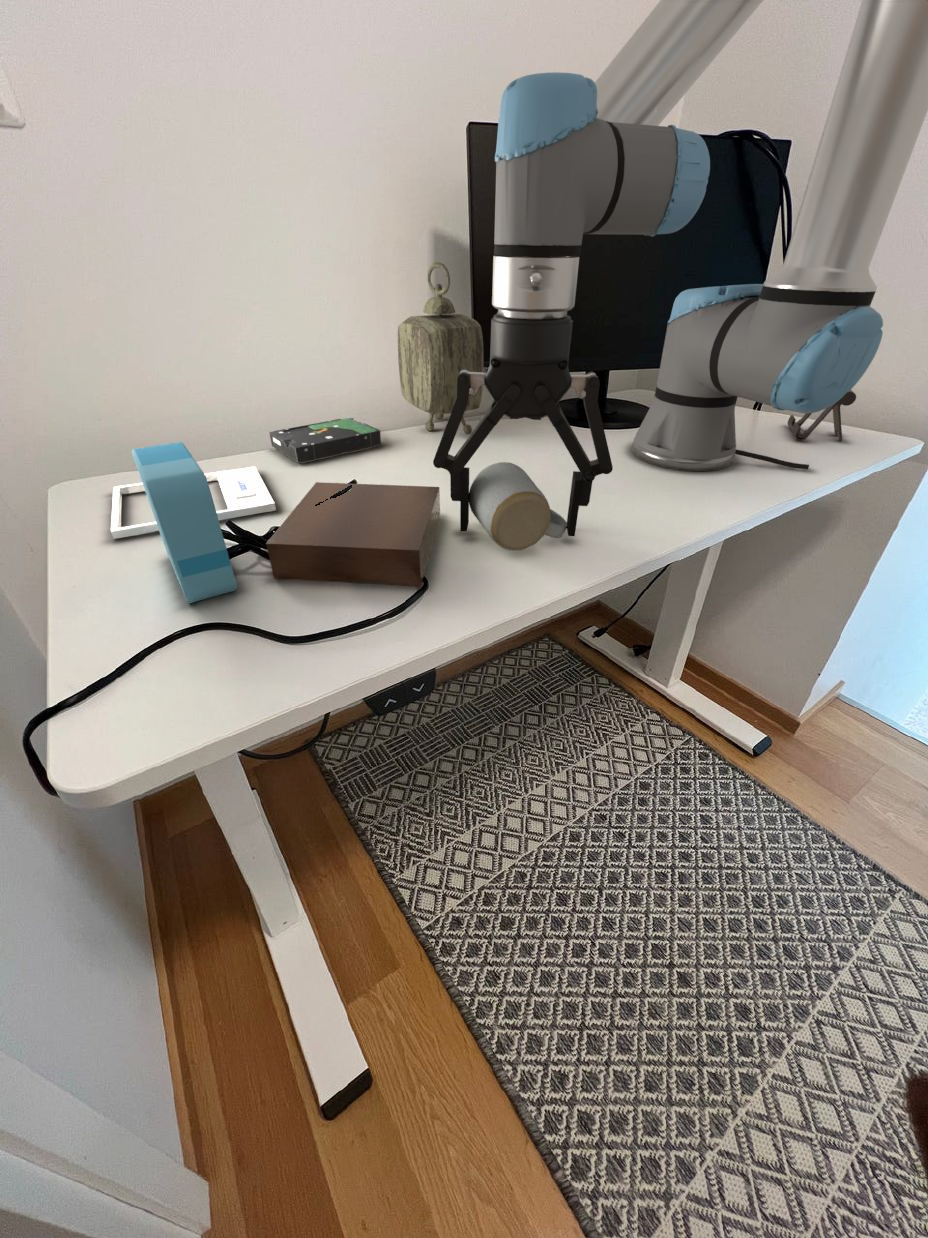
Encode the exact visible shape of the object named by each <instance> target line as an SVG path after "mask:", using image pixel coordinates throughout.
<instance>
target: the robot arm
mask: <svg viewBox="0 0 928 1238" xmlns="http://www.w3.org/2000/svg"><path fill="white" fill-rule="evenodd" d="M763 2H764V0H660V1H659V2H658V3H657V4H656V5H655V7H654V8H653V9H652V10H651V11H650V13H649V14H648V15H647V16H646V18H645V19H644V20H643V22H641V24H640V25H639V27H638V28H637V29H636V30H635V32H634V33H633V34H632V35H631V37H630V38H629V39H628V40H627V41H626V43H625V44H624V46H622V47H621V49H620V50H619V51H618V53H616V55H615V57H614V58H613V59H612V60H611V62H609V64H608V66H607V67H606V68H605V69H604V70H603V71H602V72H601V74H600V75H599V76H598V78H597V79H596V80H595V81H594V80H593V79H592V78H589V77H587V76H584V75H582V74H579V73H572V72H560V71H559V72H557V71H556V72H538V73H533V74H526V75H522V76H520V77H518V78H516V79H514V80H512V81H511V82H510V83H509V84H507V86H506V87H505V89H504V90H503V92H502V95H501V98H500V104H499V105H500V106H499V117H498V123H497V135H496V147H495V153H494V154H495V155H494V162H495V200H494V201H495V202H494V238H493V241H494V242H493V244H494V248H493V259H492V293H491V295H492V296H491V305H492V307H493V308H494V309H496V310H497V312H496V313H495V314H494V315H493V317H492V318H491V321H490V346H489V347H490V349H489V350H490V351H489V356H490V357H489V366H488V368H487V370H486V372H470V370H468V369H466V368H465V369H462V370H461V371H460V373H459V375H458V378H457V399H456V401H455V404H454V407H453V409H452V412H451V413H450V415H449V418H448V420H447V423H446V426H445V428H444V431H443V434H442V436H441V439H440V442H439V444H438V447H437V449H436V452H435V455H434V458H433V461H432V464H433V466H434V468H436V469H443V470H446V471H447V472H448V474H449V475H450V476H449V477H450V480H449V481H450V482H449V483H450V485H449V486H450V489H449V491H450V499H451V501H452V502H459V503H460V504H459V505H460V509H459V512H460V514H459V515H460V516H459V517H460V519H459V520H460V522H459V524H460V525H459V531H460V532H463V533H464V532H468V527H469V521H470V520H469V519H470V505H469V491H470V467H467V466H466V465H468V463H469V461H470V460H471V459H472V458H473V456H474V455H475V453H476V452H477V450H478V449H479V448H480V447H481V445H482V444H483V442H484V441H485V440H486V439H487V438H488V436H489V434H490V433H491V432H492V430H493V429H494V428H495V426H497V425H498V424H499V422H500V421H501V419H502V418H503V417H504V416H506V417H507V418H509V420H520V419H524V418H527V419H529V420H534V421H541V420H542V419H543V418H545V417H547V418H548V419H549V421H550V423H551V425H552V427H554V429H555V431H556V432H557V434H558V436H559V438H560V440H561V442H562V443H563V445H564V446H565V448H566V450H567V452H568V454H569V455H570V457H571V458H572V460H573V462H574V464H575V465H576V467H577V469H578V470H577V471H572V478H571V486H570V493H569V494H570V495H569V501H568V509H567V518H566V522H567V525H568V526H567V529H566V531H567V536H568V537H576V530H577V523H578V516H579V509H580V507H588V506H589V503H590V500H591V495H592V494H591V493H592V487H593V481H594V480H595V478H596V477H597V476H599V475H603V474H604V475H609V474H610V473H612V472H613V461H612V459H611V454H610V450H609V445H608V440H607V437H606V431H605V427H604V423H603V420H602V415H601V411H600V406H599V403H598V401H599V394H600V393H599V392H600V386H601V385H600V384H601V382H600V379H599V377H598V374H596V372H594V371H587V373H585V374H571V373H570V369H569V361H570V351H571V343H572V342H571V341H572V332H573V323H574V320H573V319H572V317H571V315H568V311H572V309H573V308H574V307H575V304H576V295H577V284H578V275H579V265H580V256H581V251H582V247H581V246H582V245H583V238H584V237H583V236H584V235H635V236H636V235H637V236H638V235H642V236H645V237H652V238H653V237H655V236H656V235H668V234H673V233H676V232H678V231H680V230H681V229H683V228H685V226H687V225H688V224H689V222H690V221H691V220H692V219H693V218H694V216H695V215H696V213H697V212H698V210H699V209H700V206H701V204H702V203H703V200H704V198H705V197H706V196H705V195H706V192H707V185H708V183H709V177H710V172H711V157H710V152H709V149H708V146H707V143H706V141H705V140H704V138H703V137H702V136H701V135H700V134H699V133H697V132H695V131H692V130H688V129H682V128H679V127H677V126H676V125H674V124H668V125H667V126H664V125H662V126H661V125H660V124H661V123H662V122H663V121H664V120H665V119H666V117H667V116H668V115H669V114H670V112H671V111H672V110H673V109H674V108H675V107H676V105H677V104H678V103H679V102H680V101H681V100H682V98H683V97H684V96H685V95H686V93H687V92H688V91H689V90H690V88H692V86H693V85H694V84H695V83H696V82H697V80H698V79H699V78H700V77H701V76H702V74H703V73H704V72H705V71H706V70H707V69H708V68H709V66H710V65H711V64H712V63H713V61H715V59H716V58H717V56H718V55H719V54H720V53H721V52H722V51H723V50H724V48H725V47H726V46H727V45H728V43H729V42H730V41H731V40H732V39H733V38H734V36H736V34H737V33H738V32H739V30H740V29H741V28H742V27H743V25H745V23H746V22H747V21H748V20H749V18H751V16H752V15H753V14H754V13H755V11H756V10H757V9H758V8H759V6H761V4H762V3H763ZM828 110H829V111H828V113H827V117H826V120H825V123H824V127H823V130H822V133H821V136H820V139H819V144H818V147H817V150H816V154H815V157H814V160H813V164H812V167H811V170H810V174H809V176H808V181H807V184H806V186H805V191H804V194H803V198H802V200H801V204H800V207H799V211H798V214H797V217H796V221H795V223H794V227H793V231H792V234H791V237H790V241H789V244H788V247H787V251H786V254H785V257H784V261H783V264H782V265H781V267H780V268H779V269H778V270H777V271H776V272H775V273H773V274H772V275H771V276H770V277H769V278H767V279H766V280H764V282H763V283H750V284H749V283H748V284H747V283H746V284H733V285H721V286H719V285H717V286H705V287H697V288H688V289H685V290H682V291H681V292H679V294H678V295H677V296H676V297H675V299H674V301H673V305H672V308H671V313H670V317H669V319H668V321H667V325H666V332H665V337H664V343H663V348H662V353H661V359H660V364H659V370H658V376H657V380H656V387H655V392H654V395H653V396H654V397H653V401H652V403H651V404H650V407H649V409H648V410H647V413H646V414H645V416H644V418H643V420H642V422H641V424H640V426H639V428H638V430H637V432H636V433H635V436H634V438H633V442H632V448H631V451H632V453H633V455H634V456H635V457H637V458H639V459H640V460H642V461H644V462H647V463H649V464H651V465H655V466H659V467H663V468H667V469H673V470H681V471H689V472H690V471H693V472H704V471H705V472H706V471H715V470H720V469H724V468H726V467H729V466H730V465H732V463H733V461H734V458H735V455H738V456H742V457H745V458H750V459H755V460H759V461H763V462H767V463H771V464H775V465H778V466H783V467H785V468H786V467H787V468H791V469H800V470H809V468H810V464H806V463H797V462H791V461H787V460H783V459H782V460H781V459H778V458H775V457H771V456H767V455H763V454H759V453H755V452H750V451H746V450H742V449H737V435H736V414H735V409H736V404H737V401H738V398H741V399H745V400H748V401H752V402H754V403H755V402H756V403H759V404H762V405H767V406H770V407H772V408H773V409H776V410H777V411H789V412H795V413H799V414H806V413H812V414H814V413H818V412H821V411H824V410H825V409H826V408H828V407H830V406H831V405H833V404H834V403H836V402H837V401H839V400H840V399H841V398H842V397H843V396H844V395H845V394H846V393H847V392H849V391H850V390H852V389H853V388H854V387H855V386H856V385H857V383H858V382H859V381H860V380H861V379H862V377H863V376H864V375H865V373H866V372H867V370H868V368H869V367H870V365H871V364H872V362H873V360H874V358H875V357H876V355H877V352H878V350H879V348H880V345H881V342H882V339H883V334H884V331H883V330H882V328H883V327H884V319H883V316H882V315H881V314H880V312H878V311H877V310H876V309H875V308H873V307H872V306H871V304H872V302H873V300H874V297H875V294H876V292H877V290H878V286H877V284H876V283H875V281H874V279H873V277H872V276H871V274H870V266H871V263H872V260H873V258H874V255H875V253H876V249H877V247H878V244H879V241H880V239H881V237H882V234H883V231H884V228H885V226H886V223H887V220H888V218H889V215H890V212H891V210H892V207H893V204H894V202H895V200H896V196H897V193H898V191H899V188H900V186H901V183H902V180H903V177H904V175H905V172H906V170H907V167H908V164H909V161H910V159H911V156H912V154H913V151H914V148H915V145H916V144H917V141H918V138H919V135H920V132H921V130H922V127H923V124H924V122H925V119H926V116H927V114H928V0H861V2H860V6H859V10H858V13H857V16H856V20H855V23H854V27H853V30H852V33H851V36H850V40H849V42H848V46H847V50H846V53H845V57H844V60H843V63H842V67H841V70H840V73H839V76H838V80H837V83H836V87H835V89H834V94H833V97H832V100H831V103H830V107H829V109H828ZM482 385H483V386H485V388H486V390H487V392H488V393H489V394H490V396H491V397H492V399H493V401H492V402H491V404H490V405H489V407H488V408H487V410H486V412H485V413H484V415H483V416H482V417H481V419H480V420H479V421H478V423H477V424H476V426H475V427H474V428H473V429H472V432H471V434H469V436H468V437H467V438H466V439H465V441H464V442H463V443H462V445H461V447H460V448H459V450H458V451H457V452H456V454H455V455H452V454H450V450H451V448H452V446H453V443H454V440H455V437H456V435H457V432H458V430H459V427H460V425H461V420H462V417H463V418H464V414H465V412H466V411H465V409H466V406H467V403H468V400H469V397H470V396H474V395H476V393H477V391H478V388H479V387H480V386H482ZM571 388H573V389H574V390H575V393H576V397H577V398H579V399H581V400H582V402H583V406H584V410H585V414H586V418H587V423H588V426H589V429H590V435H591V438H592V442H593V446H594V447H593V448H594V451H595V455H596V459H592V460H590V459H589V457H588V455H587V453H586V450H584V448H583V445H582V444H581V443H580V441H579V439H578V437H577V435H576V433H575V431H574V430H573V428H572V426H571V424H570V422H569V421H568V419H567V418H566V416H565V414H564V411H563V410H562V408H561V406H560V405H559V402H560V401H561V400H562V398H563V397H564V396H565V395H566V394H567V392H568V391H569V390H570V389H571Z"/></svg>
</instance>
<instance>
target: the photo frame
mask: <svg viewBox="0 0 928 1238" xmlns="http://www.w3.org/2000/svg"><path fill="white" fill-rule="evenodd" d="M204 475H205V477H206V479H207V482H208V483H209V482H213V481H217V482H218V484H219V487H220V490H221V492H222V495H223V496H222V497H223V499H224V502H225V505H226V507H227V509H221V510H216V513H217V516H218V520H219V521H224V520H228V519H235V518H241V517H245V516H252V515H257V514H263V513H268V512H274V511H277V506H276V503H275V501H274V499H273V497H272V495H271V493H270V492H269V489H268V488H267V486H266V484H265V482H264V480H263V479H262V477H261V475H260V473H259V472H258V469H257V467H256V466H249V467H241V468H235V469H234V468H233V469H228V470H221V471H214V472H213V471H212V472H206V473H204ZM141 492H145V489H144V486H143V483H142V482H138V483H132V484H124V485H118V486H113V489H112V505H111V518H110V519H111V521H110V533H111V536H112V538H113V540H115V539H122V538H127V537H133V536H138V535H144V534H150V533H155V532H159V529H158V526H157V523H156V521H151V522H146V523H145V522H144V523H139V524H134V525H127V526H122V504H123V503H122V502H123V500H122V499H123V498H122V497H123V496H122V495H127V494H134V493H141Z"/></svg>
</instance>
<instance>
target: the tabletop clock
mask: <svg viewBox="0 0 928 1238" xmlns="http://www.w3.org/2000/svg"><path fill="white" fill-rule="evenodd" d="M434 269H442V271H443V272H444V274H445V277H446V286H445V287H444V288H443V285H442V284H441V283H436V284H435V285H434V286H433V284H432V281H431V279H432V278H431V276H432V273H433V271H434ZM427 284H428V287H429V290H431V291H432V293H433V294H435V296H434V297H430V298H429V299H428V300H426V302H425V304H424V306H423V310H422V313H423V314H427V315H411V316H409V317H407V318H405V320H404V321H403V322H401V323H400V324H399V325H398V326H397V358H398V359H397V360H398V373H399V384H400V390H401V395H402V397H403V399H404V401H406V402H407V403H408V404H411V406H414V407H415V408H417V409H419V410H421V411H424V412H425V413H428V414H429V419H428V421H427V422H426V423H425V424H424V428H425V430H426V431H427V432H432V431H433V430H434V429H435V423H434V422H433V420H434V417H435V419H436V420H442V419H443V418H444V415H449V414H451V412H452V409H453V407H454V404H455V401H456V399H457V378H458V375H459V373H460V371H461V370H462V369H465V368H466V369H468V370H470V372H484V371H485V366H484V365H485V363H484V362H485V361H484V357H485V356H484V336H483V330H482V326H481V325H480V323H479V321H477V320H476V319H474V318H472V317H469V316H468V315H465V314H462V313H457V312H456V308H455V307H454V304H453V302H452V301H451V300H450V299H449V298H448V297H445V296H444V295H445V294H446V293H448V292H449V289H450V286H451V275H450V272H449V270H448V268H447V266H446V265H445V264H444V263H442V262H436V261H435V262H433V263H432V264H431V265H430V266H429V269H428V271H427ZM484 373H485V372H484ZM483 387H484V385H482V386H480V387H479V388H478V391H477V393H476V395H474V396H470V397H469V400H468V403H467V406H466V409H465V412H467V411H475V410H479V409H480V406H481V403H482V396H483ZM460 424H462V425H463V428H462V432H463V434H465V435H470V434H471V433H472V432H473V427H472V425H470V424H467V423H466V420H465V418H464V416H463V417H462V420H461V422H460Z"/></svg>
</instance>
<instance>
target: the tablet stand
mask: <svg viewBox="0 0 928 1238" xmlns="http://www.w3.org/2000/svg"><path fill="white" fill-rule="evenodd" d="M856 399H857V395H856V393H855V392H854V391H853V390H852V389H851V390H850V391H849V392H847V393H846V394H845V395H844V396H843V397H842V398H841V399H840V400H839V401H837V402H836V403H834V404H833V405H831V406H830V407H828V408H826V409H824V410H822V412H821V413H820V414H819V415H818V417H817V418H816V419H815V420H814V421H813V422H812V424H811V425H810V426H809V427H808V428H807V429H805V430H804V431H803V429H802V425H803V424H804V423H805V422H806V421H807V420H808V419H809V417H810V416H811V415H812V414H813V413H804V414H803V416H802V417H801V418H800V419H799V420H798V421H796V418H795V415H793V414H790V416H789V418H788V420H787V423H786V424H787V426H788V428H789V430H790V432H791V433H792V435H793V437H794V439H795V440H796V441H798V442H802V441H805V440H806V439H807V438H808V437H809V436H810V435H811V434H812V433H813V431H814V430H816V428H817V427H818V426H819V425H820V424H821V423H822V421H824V419H825V418H826V417H827V416H828V415H829V413H830V412H831V411H832V417H833V418H832V419H833V420H832V421H833V433H834V435H835V437H838V441H839V442H842V441H843V431H842V417H841V416H842V414H841V406H845V407H847V406H851V405H852V404H854V403H855V402H856Z"/></svg>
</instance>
